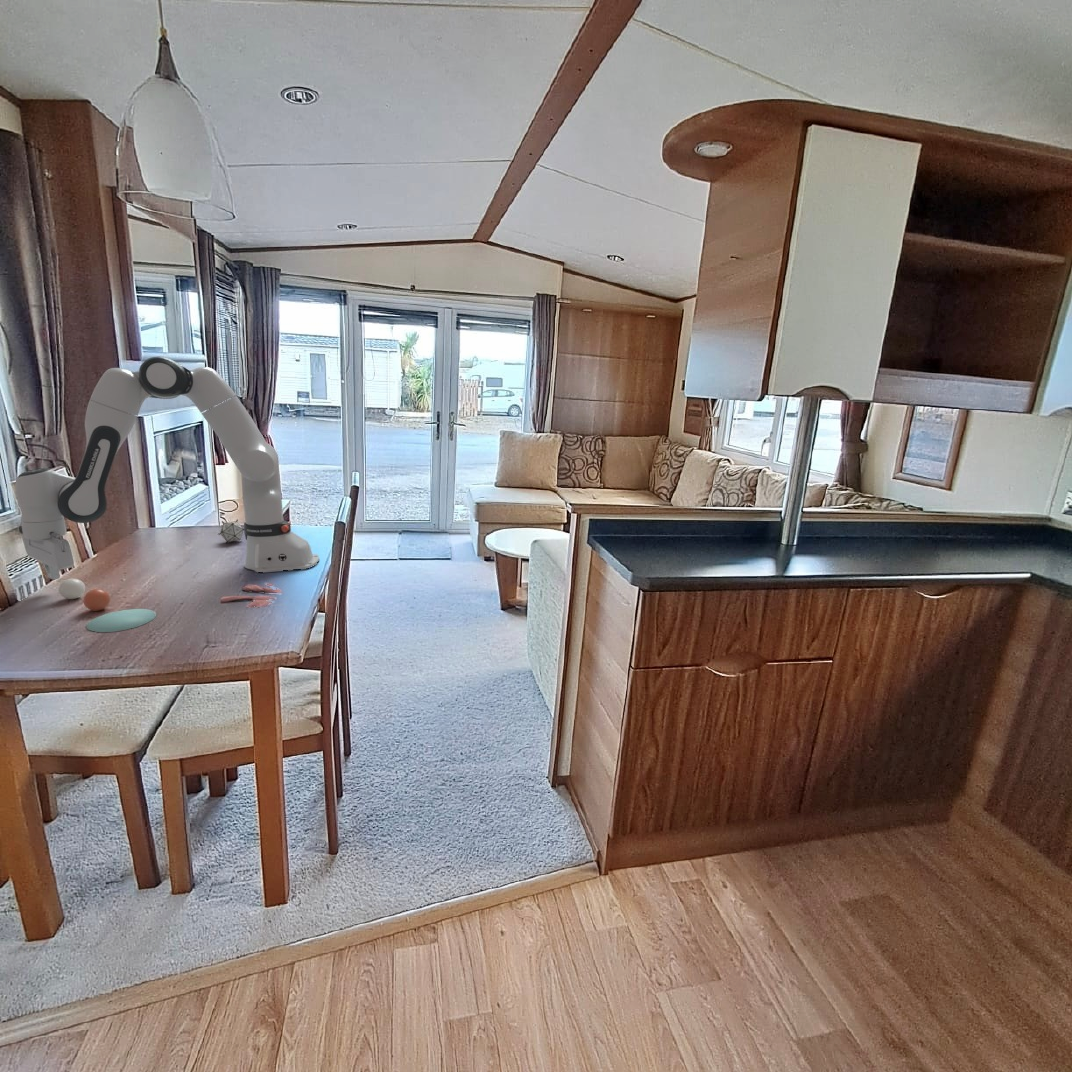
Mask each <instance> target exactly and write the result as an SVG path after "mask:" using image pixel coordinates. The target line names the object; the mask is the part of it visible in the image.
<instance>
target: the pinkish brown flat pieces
mask: <svg viewBox="0 0 1072 1072" xmlns="http://www.w3.org/2000/svg"><path fill="white" fill-rule="evenodd" d="M267 585H269V586H275V585H274V584H272V583H270V584H269V582H267ZM264 587H265V588H264ZM264 587H261V586H260V585H257V584H246V586H243V588H242V590H241V591H242V592H248V591H252V592H251V593H258V592H264V593H282V594H283V590H281V589H280V588H279V589H278V590H277V588H278V587H277V588H276V590H273V589H271V587H267V586H264ZM264 593H263V594H264ZM275 597H276V596H268V595H255V596H251V595H250V596H249V595H234V596H233V595H232V596H230V595H229V596H228V595H227V596H226V595H225V596H223V597H221V598H220V603H221V604H224V603H231V602H230V601H232V602H237V601H236V600H248V601H251V603H250V602H249V603H250V604H249V603H248V604H249V605H248V606H246V605H245V608H246V607H251V608H256V607H262V608H264V607H263V606H265V605H268V604H269V603H272V602H271V601H266V600H269V599H275ZM252 600H255V601H253V602H252ZM254 606H255V607H254ZM268 606H269V605H268ZM265 607H266V606H265Z"/></svg>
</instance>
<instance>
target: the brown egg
mask: <svg viewBox="0 0 1072 1072" xmlns="http://www.w3.org/2000/svg"><path fill="white" fill-rule="evenodd" d="M82 600H83V605H84V606H85V608H87V609H88V610H90V611H94V612H96V611H102V610H104V609H106V608H107V607H108V606H109V605H110V603H111V595H110V594H109V592H107V591H106V590H105V589H101V588H93V589H91V590H89V591H87V592H86V593H85V595H84V597H83V599H82Z"/></svg>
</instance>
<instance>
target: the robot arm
mask: <svg viewBox="0 0 1072 1072" xmlns="http://www.w3.org/2000/svg"><path fill="white" fill-rule="evenodd" d="M180 396H185V397H186V398H188V399H189V400H191V402H192V403H193V404H194V405H195V406H196V408H197V409H198V411H199V413H200V414H201V415H202V416H203V418H204V419H205V420H206V422H207V424H208V425H209V426H210V428H211V429H212V430H213V431H214V434H215V435H216V436H217V438H218V439H219V441H220V442H221V443H222V446H223V448H224V449H225V451H226V452H227V454H228V455H229V458H230V459H231V460H232V462H233V463H234V465H235V466H236V468H237V469H238V471H239V472H240V474H241V486H242V501H243V502H242V503H243V511H244V512H243V514H244V521H245V522H244V523H243V529H244V530H243V534H244V537H245V540H246V553H245V561H244V568H246V569H247V570H252V571H254V572H255V573H258V572H263V573H272V572H273V573H274V572H284V571H283V570H288V571H294V570H293V569H301V570H307V569H306V568H309V569H311V568H310V567H311V566H313V565H315V566H317V565H318V563H319V562H320V556H319V555H318V554H316V553H313V552H312V548H311V545H310V542H308V541H307V540H306V539H304V538H302V537H301V536H299V535H298V534H296V533H294V532H293V531H292V529H291V528H292V527H291V526H292V523H291V521H287V520H285V519H284V514H283V513H284V510H283V502H282V501H283V500H282V499H283V498H282V490H281V486H282V485H281V476H280V474H281V473H280V466H279V465H280V462H279V456H278V455H279V454H278V452H277V451H276V448H274V447H273V446H272V445H271V444H270V443H268V442H267V440H266V439H265V438H264V436H263V434H262V433H261V431H260V430H259V427H258V426H257V425H256V423H255V421H254V419H253V418H252V416H251V415H250V414H249V411H248V410H247V409H246V408H245V406H244V405H243V403H242V401H241V400H240V399H239V397H238V396H237V395H236V393H235V392H234V390H233V389H232V388H231V386H230V385H229V384H228V383H227V381H226V380H225V379H224V378H223V377H222V376H221V375H220V374H219V372H217V371H216V370H215V369H214V368H211V367H209V366H201V367H200V366H199V367H197V368H194V369H192V370H190V369H189V368H187V367H185V366H183V365H182V364H180V363H178V362H177V361H175V360H173V359H170V358H168V357H165V356H152V357H150V358H147V359H145V360H144V361H143V362H142V363H141V365H140V366H139V369H138V370H137V371H136V370H135V371H133V370H130V369H126V368H121V367H111V368H109V369H107V370H105V372H104V373H102V376H101V377H100V378H99V380H98V382H97V384H96V385H95V387H94V388H93V391H92V394H91V396H90V399H89V401H88V404H87V406H86V407H87V408H86V412H85V415H84V416H85V417H84V430H85V437H86V438H85V440H86V441H85V442H86V443H85V450H84V454H83V457H82V460H81V463H80V464H79V469H78V470H77V474H76V475H75V476H76V477H74V476H70V475H66V474H63V473H61V472H57V471H55V470H54V469H52V468H47V467H44V468H36V469H35V468H34V469H31V470H30V469H29V470H27V471H24V472H21V473H20V474H19V475H18V476H17V477H16V479H15V496H16V501H17V506H18V507H19V509H20V511H21V514H20V515H21V516H20V521H21V524H19V525H18V526H17V531H18V533H19V534H21V538H22V541H23V545H24V550H25V552H26V555H27V556H28V558H31V559H33V560H35V561H38V562H40V563H42V566H43V568H44V570H45V572H46V577H47V578H49V579H50V580H53V581H55V580H59V579H60V577H61V576H60V571H61V570H66V569H70V568H73V567H74V566H75V559H74V556H73V551H72V549H71V545H70V541H68V540H67V539H65V538H63V537H64V536H65V535H67V534H68V531H67V526H66V520H68V521H71V522H74V523H78V524H87V523H92V522H95V521H97V520H99V519H100V518H101V517H103V515H104V514H105V513H106V510H107V506H108V504H107V503H108V502H107V498H106V491H105V488H106V483H107V481H108V478H109V476H110V472H111V468H112V465H113V464H114V461H115V457H116V455H117V453H119V452H118V451H119V450H120V448H121V446H122V445H123V444H124V442H125V441H126V439H127V438H128V436H129V434H130V433H131V431H132V430H133V428H134V425H135V424H136V421H137V418H138V416H139V413H140V410H141V407H142V406H143V403H144V402H145V400H147V399H148V398H151V399H152V398H153V399H154V398H155V399H161V400H170V399H171V400H172V399H175V398H178V397H180ZM65 519H66V520H65ZM318 561H319V562H318ZM317 562H318V563H317Z"/></svg>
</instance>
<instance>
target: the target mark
mask: <svg viewBox="0 0 1072 1072" xmlns="http://www.w3.org/2000/svg"><path fill="white" fill-rule="evenodd" d="M156 616H157V613H156V612H155V611H154V610H151V609H148V608H132V609H123V610H117V611H112V612H107V613H106V614H102V615H100V616H96V617H95V618H93V619H91V620H89V621H88V622H87V624H86V629H87V630H88V631H90V630H91V632H93V631H95V632H94V633H114V632H115V633H117V632H121V631H127V630H132V629H135V628H138V627H141V626H144V625H146V624H149V623H150V622H152V621H153V620H154V619H155V618H156ZM131 628H132V629H131Z"/></svg>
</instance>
